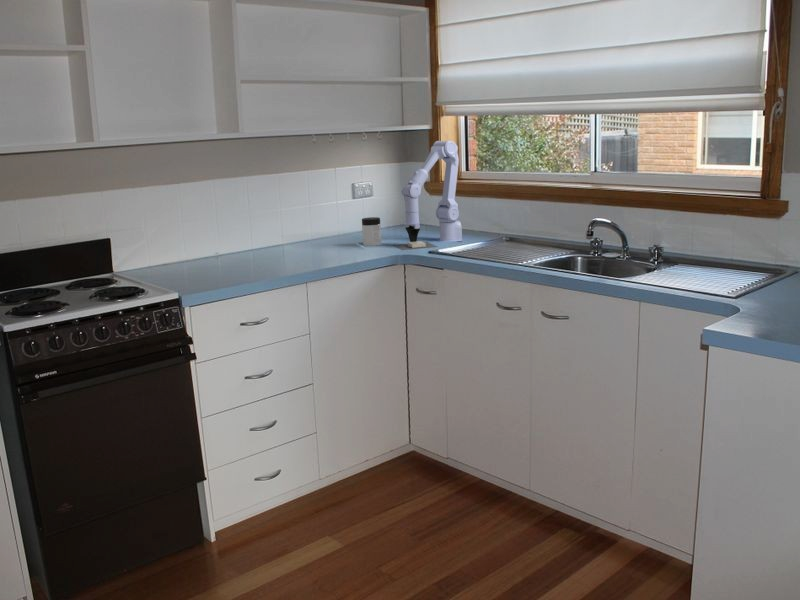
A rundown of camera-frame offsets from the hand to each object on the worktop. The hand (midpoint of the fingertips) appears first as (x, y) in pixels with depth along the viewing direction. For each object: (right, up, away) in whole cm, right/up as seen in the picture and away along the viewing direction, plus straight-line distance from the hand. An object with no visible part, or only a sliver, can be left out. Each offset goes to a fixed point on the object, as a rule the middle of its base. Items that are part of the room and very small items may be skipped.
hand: (413, 243), depth 349 cm
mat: (+1, -2, -2) cm, 2 cm away
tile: (0, 0, -1) cm, 1 cm away
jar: (-18, 0, +10) cm, 21 cm away
